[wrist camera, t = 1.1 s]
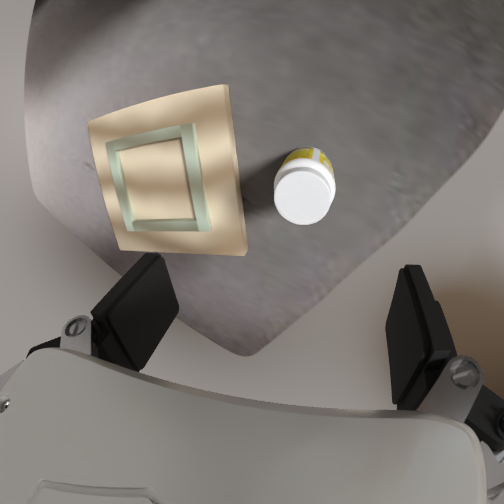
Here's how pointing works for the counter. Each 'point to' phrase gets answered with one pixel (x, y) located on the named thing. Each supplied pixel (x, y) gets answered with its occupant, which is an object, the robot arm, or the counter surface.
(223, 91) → the board
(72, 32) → the counter surface
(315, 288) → the counter surface
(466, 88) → the counter surface
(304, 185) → the supplement bottle
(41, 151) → the counter surface
